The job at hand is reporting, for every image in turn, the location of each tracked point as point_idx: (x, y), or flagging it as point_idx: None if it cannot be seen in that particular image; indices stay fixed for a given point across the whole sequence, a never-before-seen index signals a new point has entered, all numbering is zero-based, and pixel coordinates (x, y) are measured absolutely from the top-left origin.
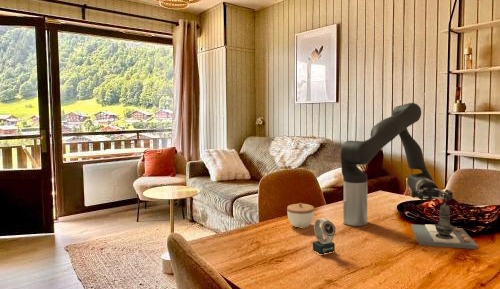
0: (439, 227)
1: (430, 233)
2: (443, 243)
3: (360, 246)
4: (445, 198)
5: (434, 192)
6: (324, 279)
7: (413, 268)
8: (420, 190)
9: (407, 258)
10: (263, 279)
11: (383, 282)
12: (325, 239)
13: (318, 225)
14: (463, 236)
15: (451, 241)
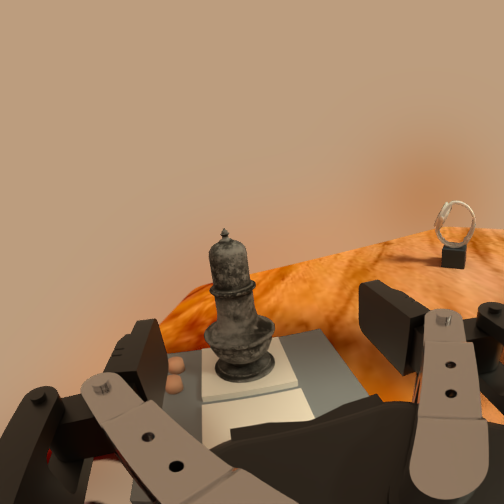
0: (258, 316)
1: (294, 374)
2: None
3: (430, 289)
4: (159, 369)
5: (257, 428)
6: (393, 243)
7: (309, 278)
8: (461, 346)
9: (327, 292)
10: None
11: (335, 255)
12: (464, 250)
13: (472, 220)
14: (176, 376)
15: None
